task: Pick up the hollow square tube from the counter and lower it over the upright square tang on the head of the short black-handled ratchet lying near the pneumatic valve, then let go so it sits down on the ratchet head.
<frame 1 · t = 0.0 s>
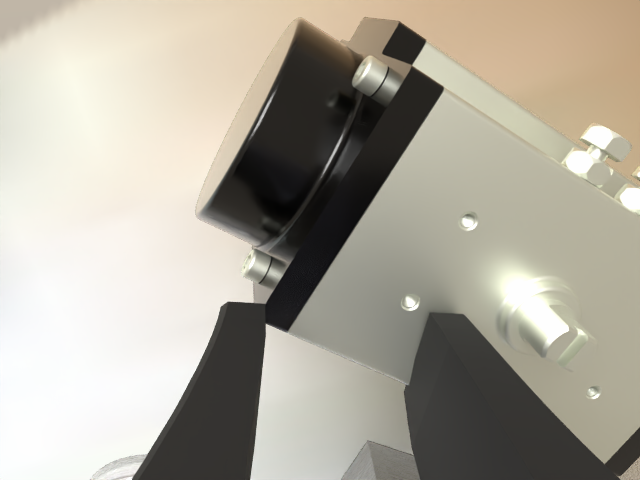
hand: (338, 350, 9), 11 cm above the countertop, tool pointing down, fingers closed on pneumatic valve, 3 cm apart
pneumatic valve: (393, 145, 20), on the countertop, touching gripper
when the fingers open (11 cm above the countertop, at t = 0.2 s): pneumatic valve moves 4 cm, point 2 cm above the countertop.
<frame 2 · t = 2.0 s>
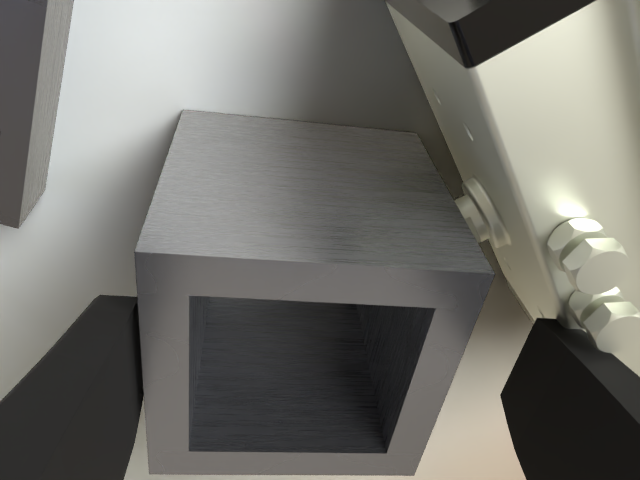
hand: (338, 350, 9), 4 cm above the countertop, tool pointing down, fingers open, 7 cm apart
hollow square tube: (290, 220, 13), on the countertop
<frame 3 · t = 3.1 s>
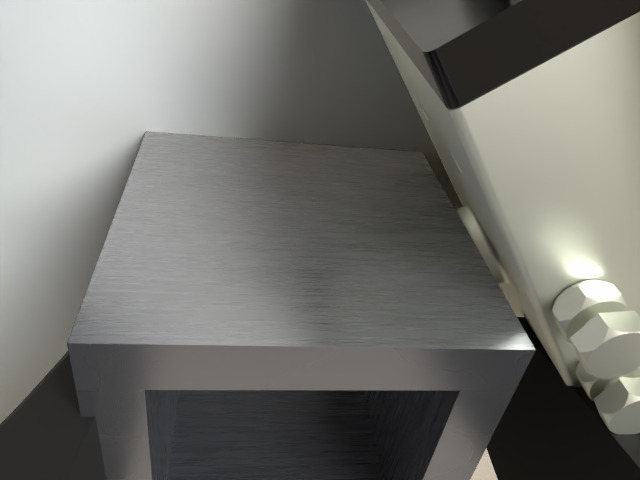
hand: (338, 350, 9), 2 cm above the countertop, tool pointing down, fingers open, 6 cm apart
hollow square tube: (277, 252, 11), on the countertop, touching gripper, pneumatic valve
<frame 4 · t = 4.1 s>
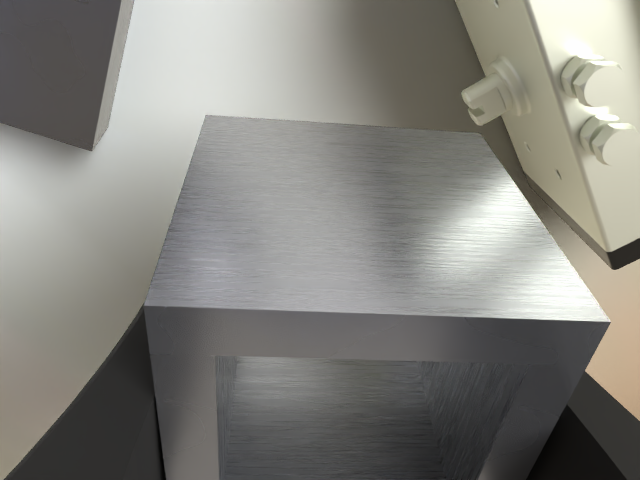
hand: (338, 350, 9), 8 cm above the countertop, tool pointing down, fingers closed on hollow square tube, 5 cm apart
hollow square tube: (332, 237, 11), point 5 cm above the countertop, touching gripper
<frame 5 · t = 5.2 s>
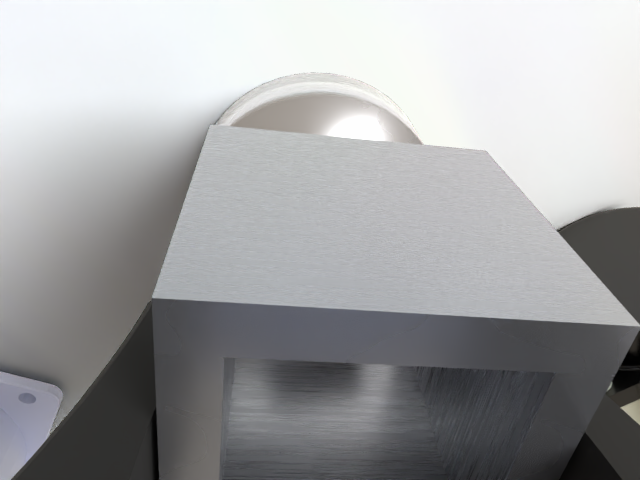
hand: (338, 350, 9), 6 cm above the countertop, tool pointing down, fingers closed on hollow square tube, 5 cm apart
ratchet: (313, 184, 14), on the countertop, touching hollow square tube
hollow square tube: (333, 255, 11), point 4 cm above the countertop, touching gripper, ratchet
when the fingers open (4 cm above the countertop, at t = 6.7 s): hollow square tube drops 1 cm, resting on ratchet.
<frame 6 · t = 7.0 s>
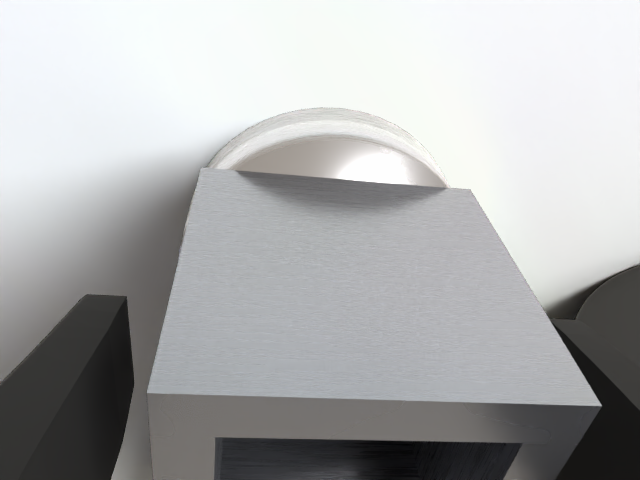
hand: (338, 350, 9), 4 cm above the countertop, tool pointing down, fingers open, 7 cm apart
ratchet: (321, 232, 12), on the countertop, touching hollow square tube
hollow square tube: (322, 284, 11), point 2 cm above the countertop, touching ratchet
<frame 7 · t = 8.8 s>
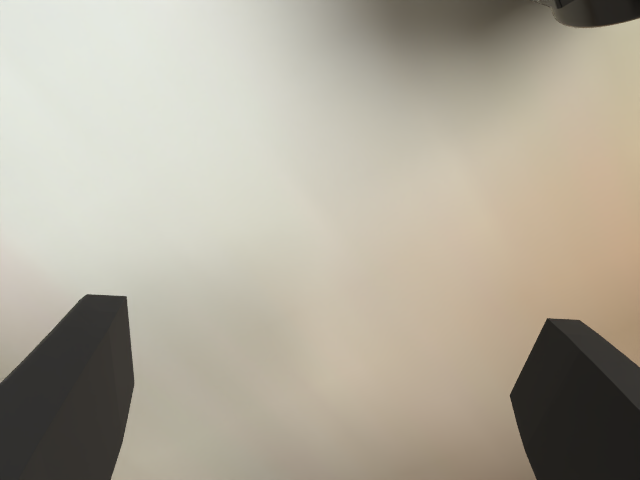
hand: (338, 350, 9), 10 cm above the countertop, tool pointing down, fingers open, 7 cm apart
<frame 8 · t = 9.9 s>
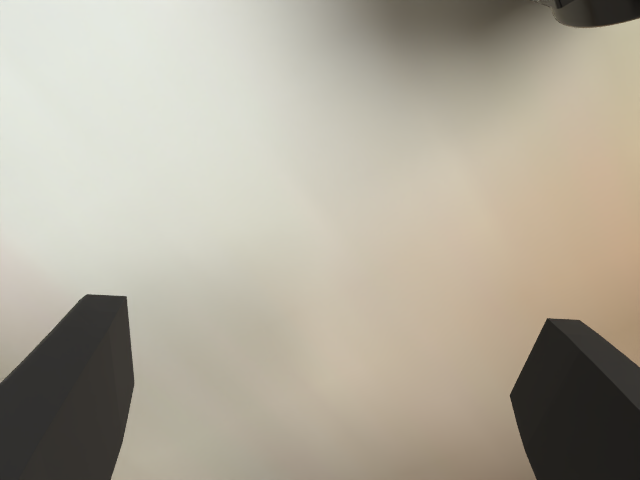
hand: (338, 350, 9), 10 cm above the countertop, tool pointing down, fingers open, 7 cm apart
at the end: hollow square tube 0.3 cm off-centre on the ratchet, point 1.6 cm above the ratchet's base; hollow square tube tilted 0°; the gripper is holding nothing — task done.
